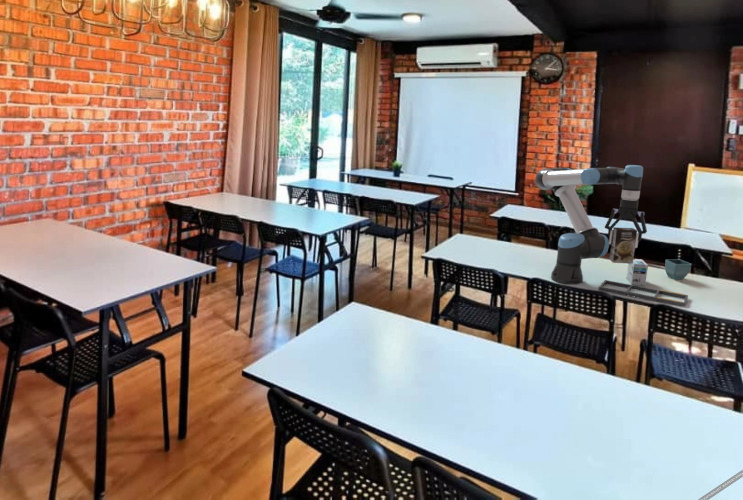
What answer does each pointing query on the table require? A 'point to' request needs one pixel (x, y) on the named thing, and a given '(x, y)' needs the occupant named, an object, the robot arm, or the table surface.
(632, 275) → the light bulb box
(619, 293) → the gray sectioned tray
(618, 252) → the brown cardboard box
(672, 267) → the flower pot
